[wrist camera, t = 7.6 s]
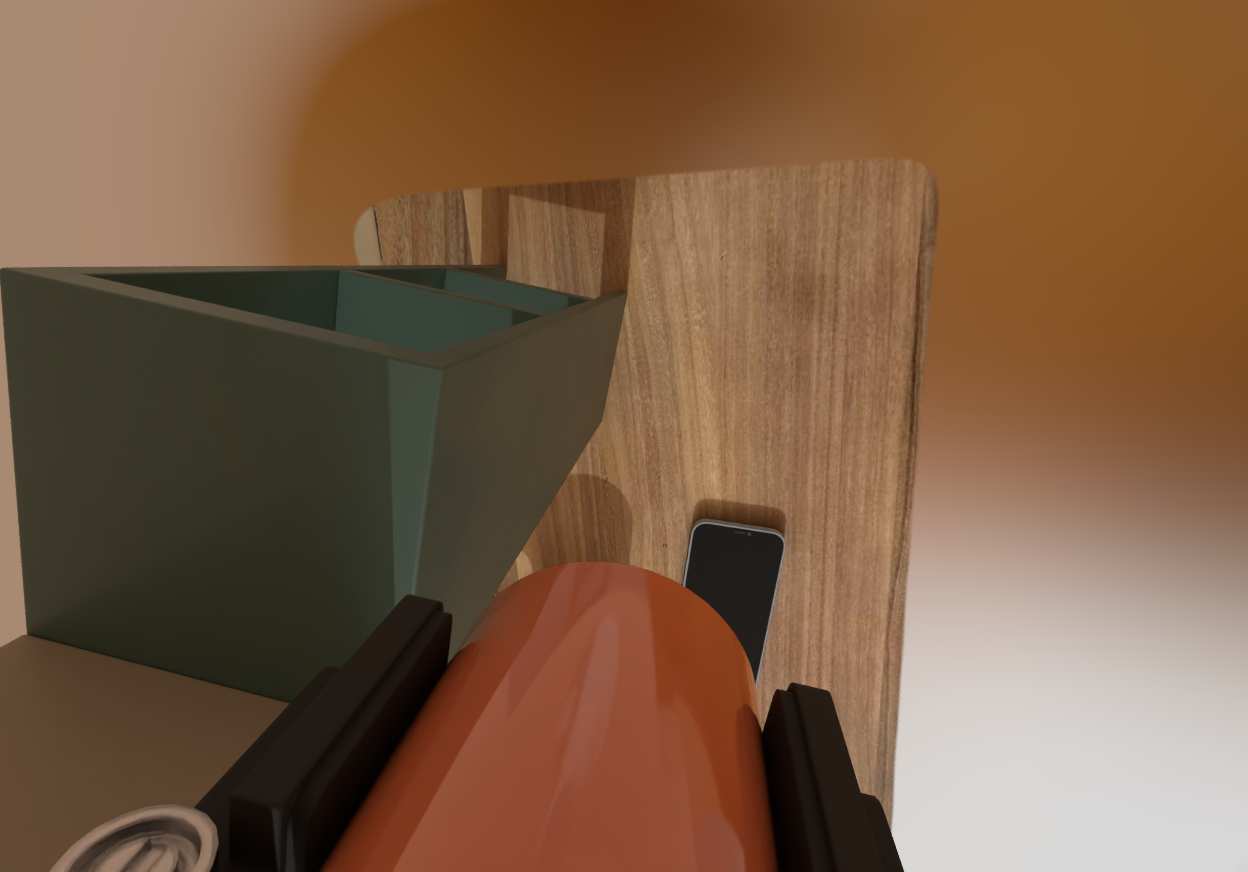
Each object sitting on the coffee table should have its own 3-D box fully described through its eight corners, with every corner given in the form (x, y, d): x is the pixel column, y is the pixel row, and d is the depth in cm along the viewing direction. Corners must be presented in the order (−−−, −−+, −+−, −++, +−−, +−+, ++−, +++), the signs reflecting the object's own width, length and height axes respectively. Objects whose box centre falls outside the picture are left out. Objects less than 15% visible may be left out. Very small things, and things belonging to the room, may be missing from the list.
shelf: (497, 264, 47) (-2456, 277, 3) (627, 293, 47) (-655, 813, 2) (478, 393, 50) (-1194, 1374, 6) (601, 421, 49) (-216, 1742, 5)
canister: (478, 528, 10) (181, 889, 4) (790, 598, 10) (922, 1086, 4) (446, 777, 11) (191, 1297, 6) (718, 844, 11) (738, 1465, 5)
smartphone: (667, 681, 54) (693, 519, 49) (668, 674, 55) (693, 515, 50) (754, 696, 53) (788, 534, 49) (754, 689, 54) (786, 529, 50)
